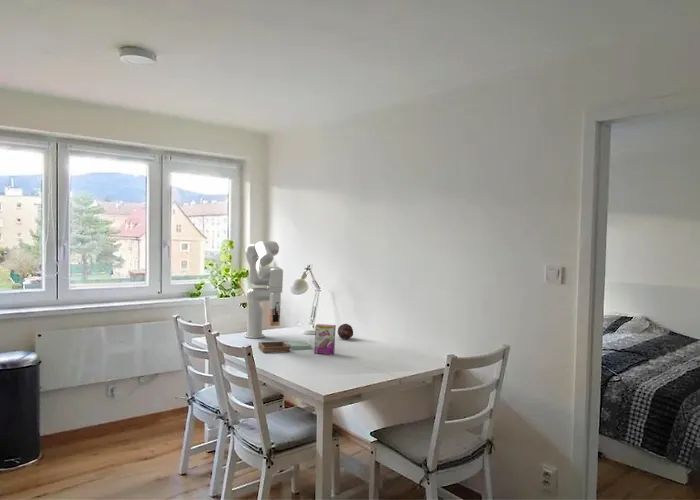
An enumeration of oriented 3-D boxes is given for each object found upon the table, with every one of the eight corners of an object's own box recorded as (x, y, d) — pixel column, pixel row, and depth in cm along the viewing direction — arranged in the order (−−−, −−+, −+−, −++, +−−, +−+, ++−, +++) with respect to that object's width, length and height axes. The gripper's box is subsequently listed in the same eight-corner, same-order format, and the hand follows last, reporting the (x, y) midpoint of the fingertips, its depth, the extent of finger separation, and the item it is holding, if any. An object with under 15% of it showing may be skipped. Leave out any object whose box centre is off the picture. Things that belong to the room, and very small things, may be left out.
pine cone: (333, 336, 349) (334, 321, 348) (347, 336, 352) (348, 321, 352) (342, 341, 332) (342, 326, 332) (356, 341, 335) (357, 325, 335)
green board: (286, 345, 315) (286, 342, 315) (305, 344, 319) (305, 341, 319) (291, 349, 304) (291, 346, 304) (311, 348, 308) (311, 345, 308)
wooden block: (269, 324, 304) (269, 307, 303) (277, 324, 306) (278, 307, 305) (270, 325, 299) (271, 308, 299) (279, 325, 301) (280, 308, 300)
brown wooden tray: (258, 347, 307) (258, 342, 307) (283, 346, 312) (283, 341, 312) (263, 353, 293) (263, 347, 293) (289, 351, 298) (289, 346, 298)
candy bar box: (314, 353, 295) (315, 324, 295) (315, 351, 300) (316, 323, 300) (333, 355, 294) (334, 325, 294) (334, 353, 299) (335, 324, 299)
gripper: (266, 287, 308) (265, 318, 309) (272, 291, 292) (271, 323, 293) (278, 287, 311) (277, 318, 311) (285, 291, 295) (284, 323, 296)
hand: (274, 320), depth 302 cm, fingers closed on wooden block, 5 cm apart
